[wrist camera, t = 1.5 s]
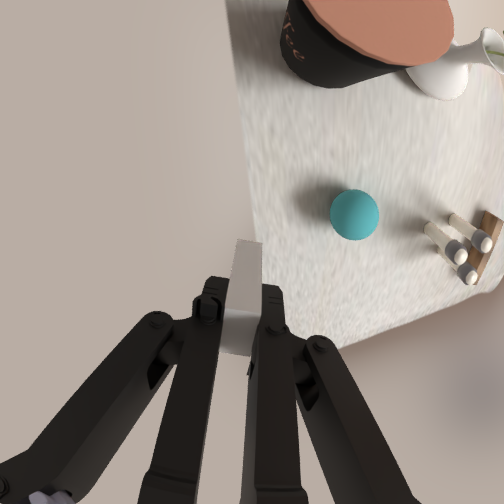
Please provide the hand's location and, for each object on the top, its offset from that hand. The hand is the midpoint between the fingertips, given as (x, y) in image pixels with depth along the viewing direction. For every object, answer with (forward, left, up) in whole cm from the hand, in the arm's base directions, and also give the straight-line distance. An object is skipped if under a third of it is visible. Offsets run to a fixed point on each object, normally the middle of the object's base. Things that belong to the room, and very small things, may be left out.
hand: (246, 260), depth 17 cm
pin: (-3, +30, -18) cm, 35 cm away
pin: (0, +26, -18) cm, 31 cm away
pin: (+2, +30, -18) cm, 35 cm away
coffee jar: (-19, +5, -18) cm, 27 cm away
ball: (0, +12, -15) cm, 19 cm away
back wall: (0, +39, -18) cm, 42 cm away
